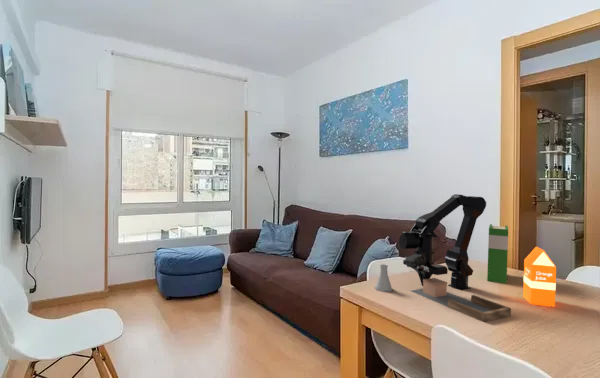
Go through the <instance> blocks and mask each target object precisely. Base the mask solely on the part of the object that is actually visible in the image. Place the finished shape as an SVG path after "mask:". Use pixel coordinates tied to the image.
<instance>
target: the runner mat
mask: <svg viewBox="0 0 600 378" xmlns="http://www.w3.org/2000/svg"><path fill="white" fill-rule="evenodd" d="M410 292H412V293H414V294H416V295H419V296H421V297H423V298H426V299H428V300H431V301H433V302H435V303H438V304H440V305H442V306H445V307H447V308H449V307H448V300H449V299H451V300H453V301H456V302H459V303H461V304H464V305H466V306H469V307H471V308H474V309H476V310H479V311H481V312H487V311H491V309H488V308H485V307H483V306H480V305H477V304H475V303H472V302H471V299H470V300H469V299H468V298H465V297H461V296H459V295H456V294H453V293H451V292H448V291H447V292H446V295H445V296H439V297H433V296H431V295H428V294H426V293H423V288H417V289H412V290H411V289H410ZM481 322H483V321H481ZM483 323H484V322H483Z"/></svg>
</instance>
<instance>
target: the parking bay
mask: <svg viewBox="0 0 600 378" xmlns="http://www.w3.org/2000/svg"><path fill="white" fill-rule="evenodd" d="M470 296H471V297H470V301H471V302H472V303H475V304H477V305H480V306H483V307H485V308H488V309H491V311H487V312H481V311H479V310H476V309H474V308H471V307H469V306H466V305H464V304H461V303H459V302H456V301H453V300H451V299H449V300H448V307H447V308H449V309H451V310H454V311H457V312H460V313H461V314H464V315H466V316H469V317H471V318H474V319H476V320H479V322H482V321H483V323H487V322H490V321H495V320H498V319H499V320H500V319H503V318H507V317H511V316H512V308H511V307H509V306H505V305H503V304H500V303H497V302H495V301H492V300H489V299H486V298H484V297H480V296H477V295H475V294H473V295H470Z"/></svg>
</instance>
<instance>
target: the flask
mask: <svg viewBox="0 0 600 378" xmlns="http://www.w3.org/2000/svg"><path fill="white" fill-rule="evenodd" d="M379 267H380V268H379V269H380V270H379V275H378V277H377V280H376V283H375V285H374V289H375V290H376V291H377V292H378V291H379V292H384V293H385V292H392V290H393V287H392V284H391V281H390V279H389V275H388V264H384V263H383V264H382V263H381V264H379Z"/></svg>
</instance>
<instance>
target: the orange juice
mask: <svg viewBox="0 0 600 378" xmlns="http://www.w3.org/2000/svg"><path fill="white" fill-rule="evenodd" d="M556 282H557V266H556V265H555V264H554V262H553V261H552V259H551V258H550V257H549V255H548V254H547V253H546V251H545V250H544V249H542V248H540V247H538V246H535V247H534V248H533V249H532V251H530V253H529V254H528V255H527V256H526V257H525V258H524V261H523V291H522V292H523V293H522V297H523V298H524V299H525V300H526V301H527V302H528V303H529V304H530V305H536V306H544V307H551V306H552V308H553V307H554V308H555V306H556V290H557V289H556V288H557V283H556Z"/></svg>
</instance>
